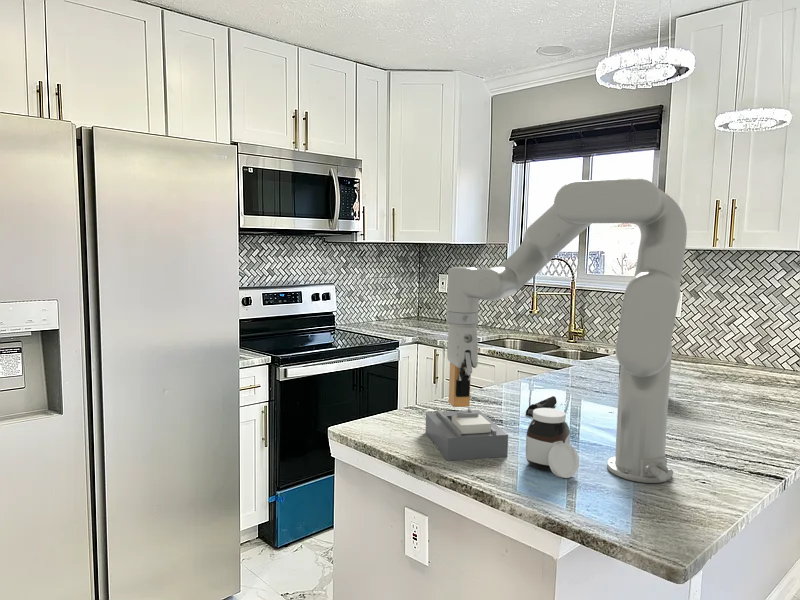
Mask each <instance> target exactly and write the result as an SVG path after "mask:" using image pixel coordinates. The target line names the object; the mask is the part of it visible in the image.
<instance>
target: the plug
mask: <svg viewBox="0 0 800 600" xmlns="http://www.w3.org/2000/svg"><path fill="white" fill-rule="evenodd" d="M461 367H465V365H462V366H461ZM463 371H465V370H461V374H462V372H463ZM448 377H449V379H448V384H449V385H448V403H449V404H450V405H451V407H453V408H464V407H465V408H467V407H470V401H471V400H470V399H471V389H470V390H469V396H468V397H457V396H456V380H458V367H456V366H455V365H453V364H452V363H451V362H449V376H448ZM471 377H472V375H470V380H471Z"/></svg>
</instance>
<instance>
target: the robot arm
mask: <svg viewBox="0 0 800 600" xmlns="http://www.w3.org/2000/svg"><path fill="white" fill-rule="evenodd" d="M591 224H633V225H636V226H637V227H638V228H639V231H640V240H639V246H638V250H637V251H638V252H637V259H636V260H637V262H636V266H635V273H634V277H633V278H632V279H631V280H630V281H629V282H628V284H627V286H626V288H625V291H624V294H623V298H622V305H621V311H620V316H619V322H618V329H617V336H616V343H615V357H616V360H617V362H618V364H620V366H621V369H620V380H619V379H618V387H619V388H618V397H617V398H618V400H617V417H616V435H615V439H616V440H615V454H614V455H615V456H612V457H610V458H609V459H608V460H607V461H606V462H607V463H606V467H607V470H608V471H609V472H611V473H612V474H613V475H615V476H617V477H620V478H622V479H625V480H627V481H628V480H629V481H631V482H636V483H645V484H659V483H664V482H668V481H670V480H671V479H672V476H673V475H674V471H673V469H671V468H670V466H668V458H667V457H666V443H667V442H666V441H667V428H668V427H667V425H668V424H667V423H668V409H669V397H670V381H671V380H670V379H671V370H672V369H671V367H672V358H673V357H672V356H673V342H672V339H673V333H674V328H675V324H676V323H675V322H676V317H677V311H678V306H679V303H680V299H681V279H682V273H683V268H684V261H685V253H686V248H687V235H688V233H687V232H688V229H687V222H686V218H685V215H684V213H683V210H682V209H681V207H680V205H679V204H678V203H677V201H675V200H674V199H673V197H671V196H670V195H668V193H666V192H665V191H663V190H661V188H659V187H658V186H657V185H656V184H655V183H653V182H651V181H650V180H648V179H644V178H635V177H634V178H633V177H631V178H614V179H610V178H609V179H594V180H593V179H590V180H589V179H588V180H587V179H586V180H574V181H569V182H567V183H565V184H564V185H563V186H561V187H560V188H559V190H558V191H557V193H556V194H555V197H554V201H553V204H552V205H551V206H550V207H549V208H548V209H547V210H546V211H545V212H543V213H542V214H541V216H539V217H538V218H537V219H536V220H534V222H533V223H532V224H530V225H529V226H528V227H527V228H526V230H525V232H524V235H523V239H522V242H521V243H520V245H519V246H518V248H516V250H515V251H514V252H513V253H512V254H511V255H510V256H509V257H508V258H507V259H506V260H504V261H503V262H502V263H501V264H500V265H499V266H494V267H493V266H492V267H489V268H488V267H487V268H486V267H485V268H476V267H471V266H453V267H451V268H449V270H448V272H447V294H446V323H445V325H446V326H448V332H447V333H448V334H447V344H446V346H447V347H446V356H447V357H446V358H447V360H448V362H449V363H450V362H451V363H452V364H453V365H455V366H456V367H458V380H456V396H457V397H468V396H469V390H470V391H471V379H470V375H471V374H473V369H476V368H477V367H478V363H479V358H478V357H479V353H478V351H479V349H478V348H479V347H478V346H479V344H478V342H479V341H478V331H477V329H478V328H477V327H478V326H479V309H480V306H479V305H480V300H482V301H487V302H495V301H498V300H501V299H502V300H503V299H505V298H509V297H511V296H513V295H515V293H517V292H518V291H519V290H520V289H521V288H523V287H524V286H525V285H526V284H527V283H528V282H529V281H530V280H532V279H533V278H534V277H536V275H537V274H538V273H539V272H540V271H541V270H542V269H543V268H544V267H546V265H547V264H549V262H551V260H552V259H553V258H554V257H556V255H558V254H559V252H561V251H562V250H563V249H564V248H565V247H566V246H567V245H569V244H570V243H571V242H572V241H574V239H576V238H577V237H578V236H579V235H580V234H581V233H582V232H585V230H586V229H587V228H588V227H589V226H591ZM462 365H465V367H461V366H462ZM461 370H465V371H463V372H462V374H461ZM471 376H472V375H471Z"/></svg>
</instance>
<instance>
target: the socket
mask: <svg viewBox="0 0 800 600" xmlns="http://www.w3.org/2000/svg"><path fill="white" fill-rule="evenodd" d="M473 412H478V415H481V416H483V417H484V418H485V419H486V420H487V421H488V422H490V423H491V432H489V433H472V434H461V432H460V431H459V430H458V429H457V428H456V427H455V426H454V425H453V424H452V416H457V413H473ZM425 434H426V435H427V436H428V438H429V437H430V438H429V439H430V440H431V442H432V443H433V442H434V443H433V444H434V445H435V447H436V446H437V447H438V448H437V447H436V448H437V449H438V451H439V452H440V453H441V454H442V456H443V455H444V456H443V457H444V458H445V460H446V459H447V460H449V461H459V460H462V459H463V460H476V458H478V459H489V458H490V459H491V458H492V459H493V458H503V457H504V458H505V457H508V450H509V449H508V448H509V434H508V432H505V430H503V429H502V428H501V427H499V426H498V425H497V424H496V423H495V422H494V421H493V420H491V419H490V418H489V417H488V416H487V415H485V413H483V412H482V411H480V410H477V409H475V410H472V408H467V410H461V411H460V410H457V411H441V410H440V409H436V412H426V413H425ZM447 460H446V461H447Z"/></svg>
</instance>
